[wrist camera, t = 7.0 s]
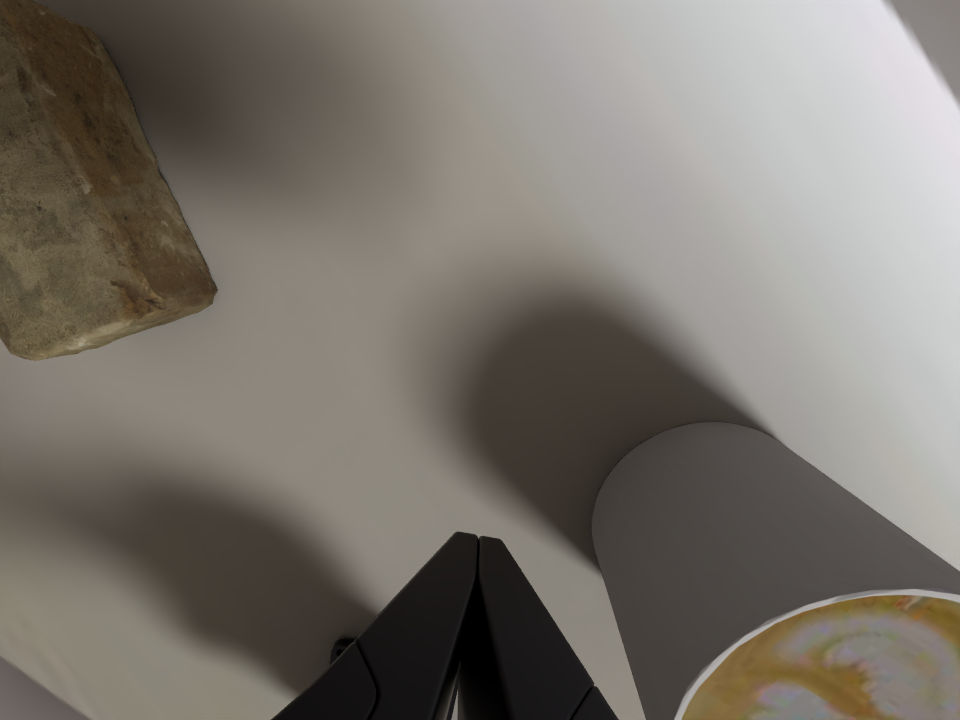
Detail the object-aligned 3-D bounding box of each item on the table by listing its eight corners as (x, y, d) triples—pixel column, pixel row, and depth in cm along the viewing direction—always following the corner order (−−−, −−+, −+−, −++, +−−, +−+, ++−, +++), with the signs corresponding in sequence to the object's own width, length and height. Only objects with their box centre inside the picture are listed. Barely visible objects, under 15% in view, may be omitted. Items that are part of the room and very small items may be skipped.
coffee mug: (546, 518, 22) (582, 742, 12) (722, 375, 20) (936, 504, 10) (727, 692, 24) (885, 1006, 14) (904, 578, 22) (1233, 851, 12)
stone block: (121, 346, 21) (6, 377, 16) (-26, 75, 18) (-215, 14, 14) (236, 302, 20) (151, 320, 15) (99, 14, 18) (-54, -74, 13)
